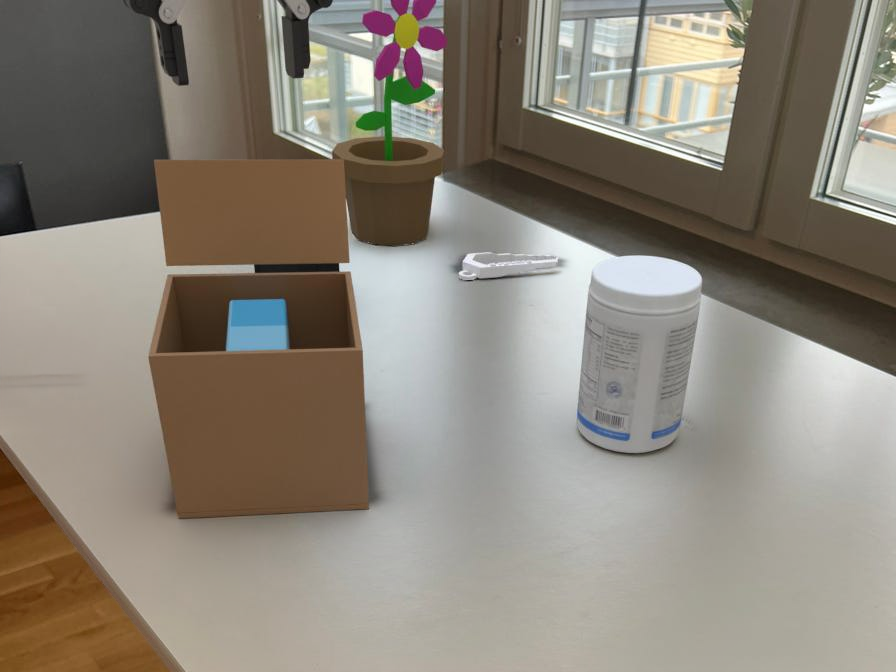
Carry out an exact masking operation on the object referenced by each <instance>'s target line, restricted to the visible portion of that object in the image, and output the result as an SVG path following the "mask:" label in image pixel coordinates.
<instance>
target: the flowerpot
mask: <svg viewBox="0 0 896 672" xmlns="http://www.w3.org/2000/svg"><path fill="white" fill-rule="evenodd" d="M389 1H390V6H391V8H392V9H393V10H394V12H396V14H397V15H398V17H396V20H394V18H393V17H392V15H391V14H389V13H386V12H383V11H380V10H376V9H373V10H370V11H367V12H365V13H363V14H362V21H361V24H362V25H363V26H364V27H365V28H366V29H367V31H368V32H369V33H370V34H374V35H376V36H377V35H378V36H380V37H385V38H388V37H389V36H391V35H393V38H392V41H391V42H390V43H388V44H386V45H384V47H383V49H382V50H381V51H380V53H379V55H378V56H377V57H376V60H375V67H374V73H373V77H374V78H375V79H376V80H377V81H378V82H380V81H382V80H385V81H384V92H383V111H378V110H372V111H368V112H366V113H363V114H362V115H361V116H360V117H359V118H358V119H357V120H356V121H355V128H357V129H360V130H363V131H366V132H368V131H369V132H370V131H377V130H379V129H382V128H383V127H384V136H382V135H380V136H369V137H367V136H366V137H356V138H352V139H349V140H346V141H342V142H339V143H336V145H335V146H334V148H333V149H332V150H331V158H332V159H331V160H344V174H345V191H346V208H347V214H348V218H349V225H350V230H351V235H352V234H353V235H354V236H355V237H354V236H353V235H352V236H353V237H354V238H355V239H357V240H358V239H359V240H361V241H360V242H362V241H365V242H364V243H366V242H369V243H368V244H370V243H372V244H371V245H373V244H379V245H378V246H384V245H401V246H405V245H404V244H409V245H413V244H412V243H415V244H417V243H419V242H418V241H420V242H422V241H424V240H426V239H427V237H428V234H429V229H430V228H429V227H430V222H431V211H432V204H433V196H434V189H435V180H436V178H437V177H439V176H441V175H442V174H443V171H444V168H445V149H444V148H442V147H441V146H439V145H438V144H435V143H434V142H431V141H426V140H421V139H418V138H417V139H416V138H412V137H399V136H393V122H392V121H393V117H392V111H393V110H392V101H394V102H397V103H398V104H401V105H404V106H408V105H413V104H418V103H421V102H423V101H425V100H426V99H428V98H431V97H432V96H434V95H435V94H436V89H435V88H434V87H432V86H431V85H430V84H428V83H427V82H425V81H423V78H424V67H423V62H422V57H421V54H420V53H419V52H418V50H417V49H416V48H415V47H414V46H415V44H416V43H417V42H418V44H419V45H420V47H421V48H424V49H427V50H430V51H433V52H439V51H440V50H443V49H446V48H447V46H448V37H447V36H446V35H445V34H444V32H443V31H442V29H440V28H436V27H432V26H429V25H423V26H422V27H419V21H422V20H424V19H426V18H428V17H429V15H430V13H431V12H432V11H433V9H434V7H435V6H436V4H437V0H413V1H412V7H411V8H412V9H411V13H408V10H409V4H410V0H389ZM402 49H404V50H405V51H404V56H403V58H402V64H403V70H404V74H405V75H404V76H402V77H400V78H397V79H395V80H394V75H395V74H394V73H395V69H396V67H397V66H398V64H399V63H400V61H401V52H402V51H401V50H402ZM425 238H426V239H425ZM423 239H424V240H423ZM359 240H358V241H359ZM421 240H422V241H421ZM416 242H417V243H416Z"/></svg>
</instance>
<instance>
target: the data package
mask: <svg viewBox="0 0 896 672" xmlns="http://www.w3.org/2000/svg"><path fill="white" fill-rule="evenodd" d="M288 349H290V341H289V330H288V318H287V307H286V301H285V300H284V299H263V300H232V301H230V303H229V315H228V328H227V341H226V351H252V350H288Z"/></svg>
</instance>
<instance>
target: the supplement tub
mask: <svg viewBox="0 0 896 672" xmlns="http://www.w3.org/2000/svg"><path fill="white" fill-rule="evenodd" d="M702 286H703V278H702V275H701V274H700V272H698V271H697V269H695V268H694V267H692V266H690V265H688V264H686V263H684V262H681V261H679V260H675V259H670V258H666V257H661V256H656V255H655V256H654V255H622V256H621V255H620V256H616V257H611V258H607V259H605V260H602V261H600V262H598V263H597V264H595V266H593V268H592V271H591V276H590V283H589V285H588V291H587V300H586V311H585V322H584V333H583V341H582V342H583V343H582V352H581V353H582V355H581V363H580V364H581V365H580V375H579V386H578V387H579V389H578V398H577V408H576V426H577V429H578V430H579V432H580V434H581V435H582V437H584V438H585V439H586V440H587V441H589V442H590V443H591V444H594V445H596V446H598V447H600V448H602V449H605V450H609V451H612V452H617V453H618V452H619V453H626V454H643V453H650V452H653V451H656V450H659V449H663V448H665V447H667V446H668V445H670V444H671V443H672V442H674V440H676V438H677V436H678V435H679V432H680V429H681V423H682V419H683V418H682V417H683V414H684V413H683V411H684V406H685V400H686V394H687V390H688V389H687V388H688V383H689V377H690V370H691V366H692V365H691V364H692V358H693V354H694V353H693V351H694V346H695V340H696V333H697V329H698V323H699V316H700V310H701V304H702V303H701V302H702V301H701V300H702V288H703V287H702Z"/></svg>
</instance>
